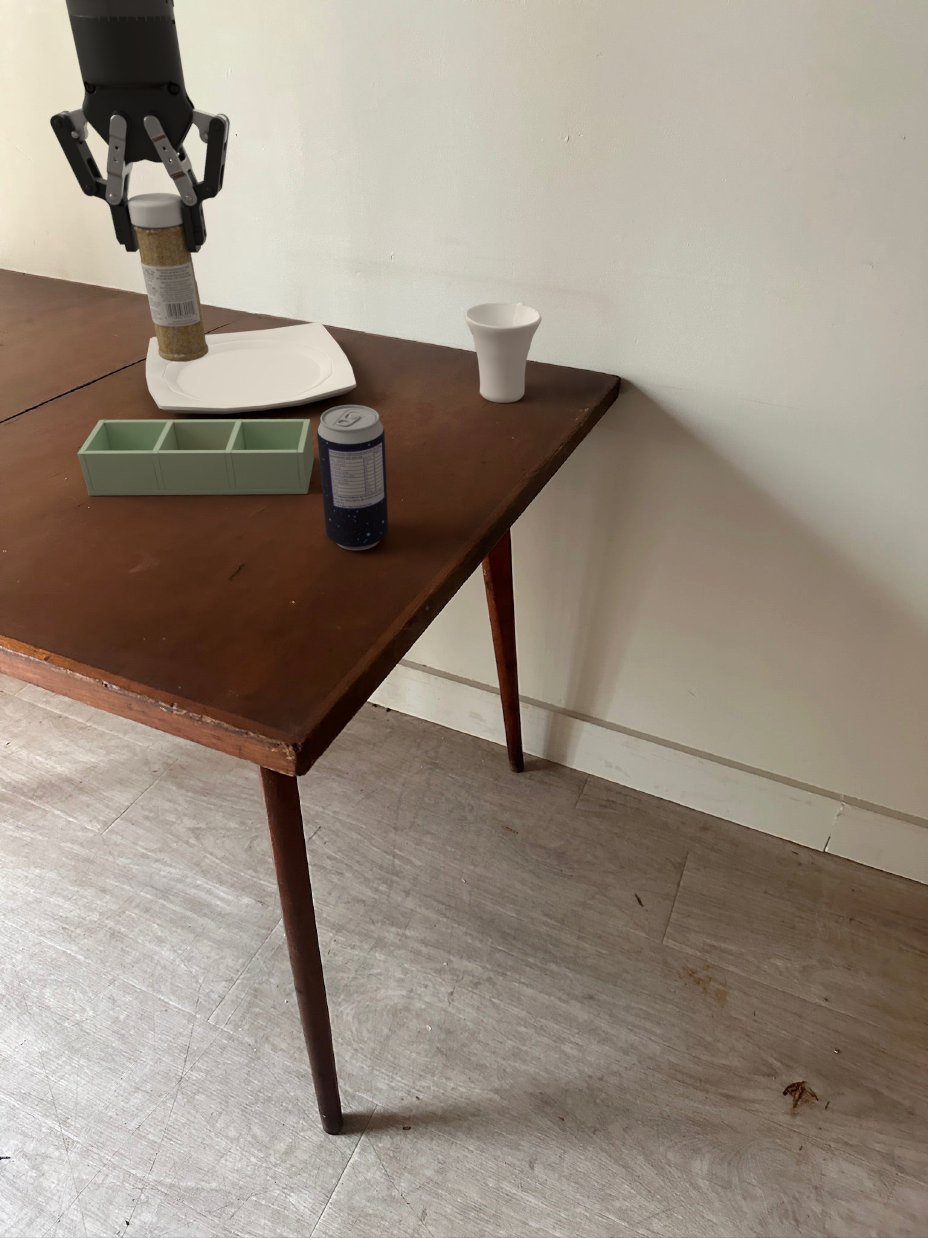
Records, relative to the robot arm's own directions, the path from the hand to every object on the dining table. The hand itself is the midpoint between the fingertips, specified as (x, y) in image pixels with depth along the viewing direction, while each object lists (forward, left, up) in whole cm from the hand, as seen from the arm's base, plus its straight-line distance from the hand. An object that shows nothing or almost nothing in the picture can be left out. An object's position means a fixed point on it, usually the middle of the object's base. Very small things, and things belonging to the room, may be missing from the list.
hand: (164, 248), depth 75 cm
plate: (+1, +25, -22) cm, 34 cm away
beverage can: (+16, -12, -22) cm, 30 cm away
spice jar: (0, 0, -10) cm, 10 cm away
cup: (+32, +21, -22) cm, 44 cm away
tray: (0, 0, -22) cm, 22 cm away
